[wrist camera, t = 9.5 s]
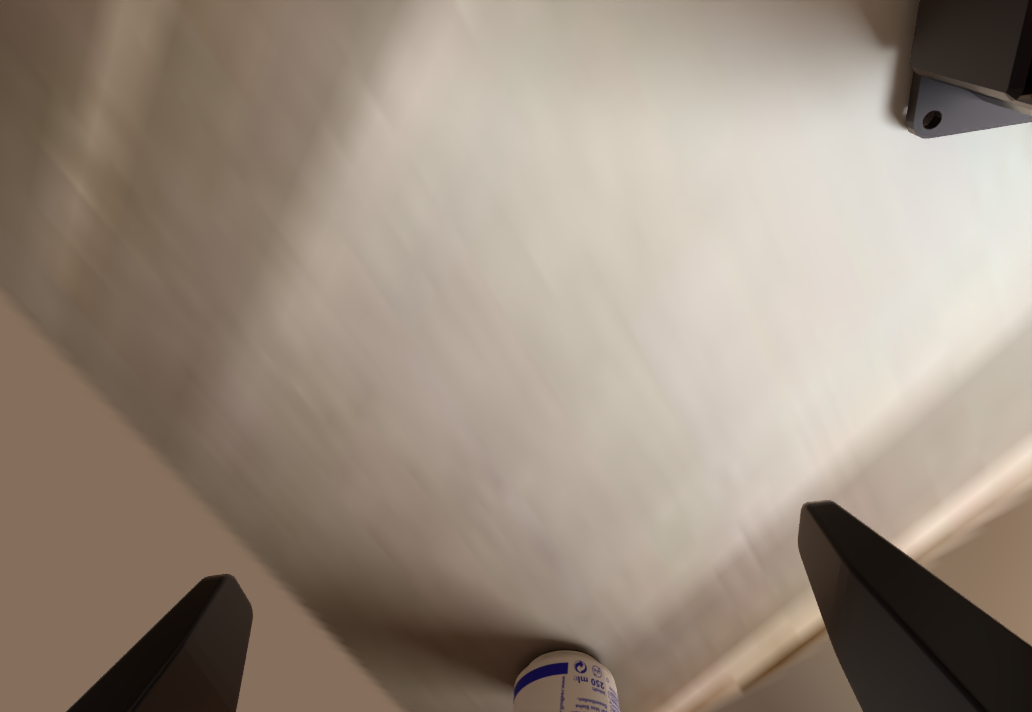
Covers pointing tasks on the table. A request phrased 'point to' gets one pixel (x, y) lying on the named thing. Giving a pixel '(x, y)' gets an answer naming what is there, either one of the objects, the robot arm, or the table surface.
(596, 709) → the beverage can
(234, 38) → the table surface
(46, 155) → the table surface
